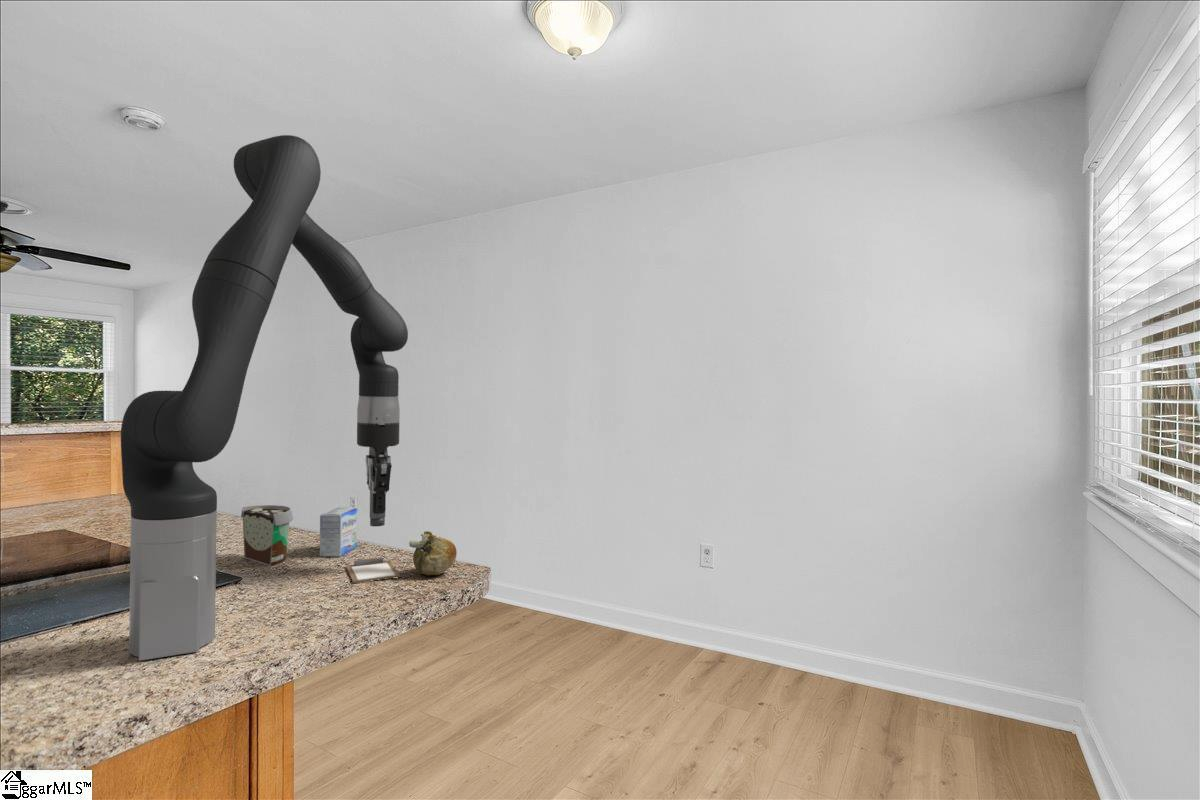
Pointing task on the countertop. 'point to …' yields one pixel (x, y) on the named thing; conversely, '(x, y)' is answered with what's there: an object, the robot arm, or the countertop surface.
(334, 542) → the medicine box
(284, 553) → the food container
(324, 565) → the countertop surface
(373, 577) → the clipboard
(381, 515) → the marker
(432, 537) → the onion
